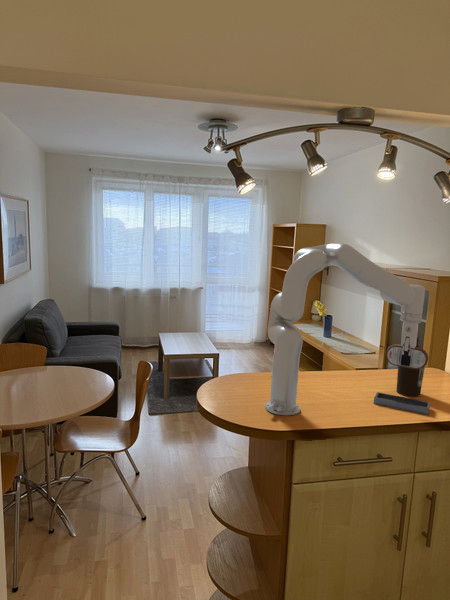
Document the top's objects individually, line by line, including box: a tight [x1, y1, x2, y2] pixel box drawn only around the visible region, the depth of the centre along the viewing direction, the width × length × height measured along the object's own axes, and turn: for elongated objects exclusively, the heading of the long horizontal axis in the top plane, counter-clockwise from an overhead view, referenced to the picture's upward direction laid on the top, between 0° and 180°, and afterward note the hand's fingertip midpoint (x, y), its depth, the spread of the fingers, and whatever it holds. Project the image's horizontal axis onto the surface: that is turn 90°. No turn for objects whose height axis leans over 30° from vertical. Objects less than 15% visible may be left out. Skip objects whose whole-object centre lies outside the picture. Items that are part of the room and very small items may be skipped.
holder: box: [373, 391, 431, 416], centre depth 167 cm, size 8×20×2 cm, turn 62°
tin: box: [385, 343, 429, 369], centre depth 164 cm, size 15×3×8 cm, turn 62°
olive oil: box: [395, 335, 426, 398], centre depth 181 cm, size 11×11×25 cm
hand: (405, 363), depth 164 cm, fingers closed on tin, 2 cm apart
